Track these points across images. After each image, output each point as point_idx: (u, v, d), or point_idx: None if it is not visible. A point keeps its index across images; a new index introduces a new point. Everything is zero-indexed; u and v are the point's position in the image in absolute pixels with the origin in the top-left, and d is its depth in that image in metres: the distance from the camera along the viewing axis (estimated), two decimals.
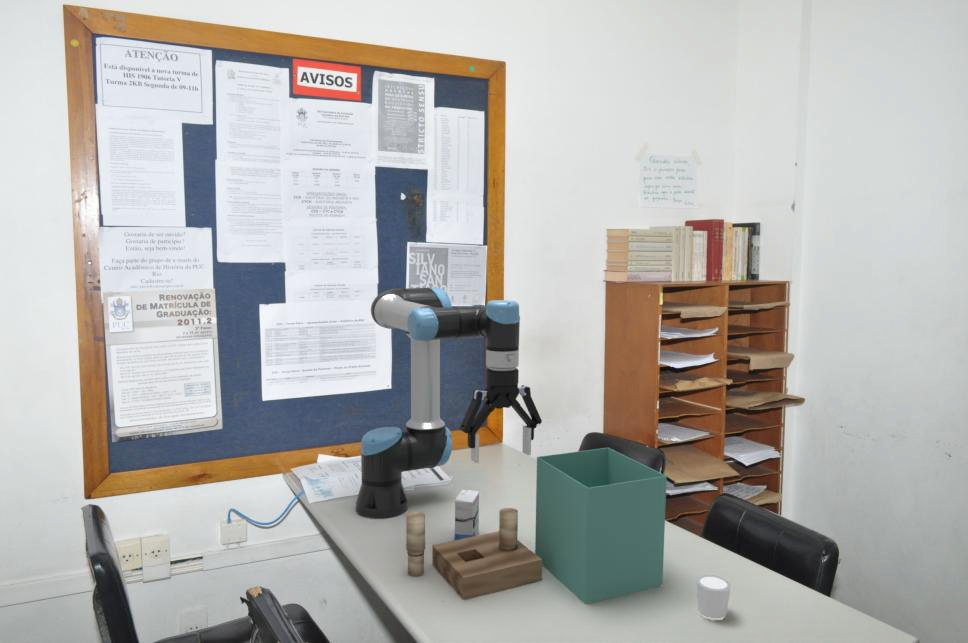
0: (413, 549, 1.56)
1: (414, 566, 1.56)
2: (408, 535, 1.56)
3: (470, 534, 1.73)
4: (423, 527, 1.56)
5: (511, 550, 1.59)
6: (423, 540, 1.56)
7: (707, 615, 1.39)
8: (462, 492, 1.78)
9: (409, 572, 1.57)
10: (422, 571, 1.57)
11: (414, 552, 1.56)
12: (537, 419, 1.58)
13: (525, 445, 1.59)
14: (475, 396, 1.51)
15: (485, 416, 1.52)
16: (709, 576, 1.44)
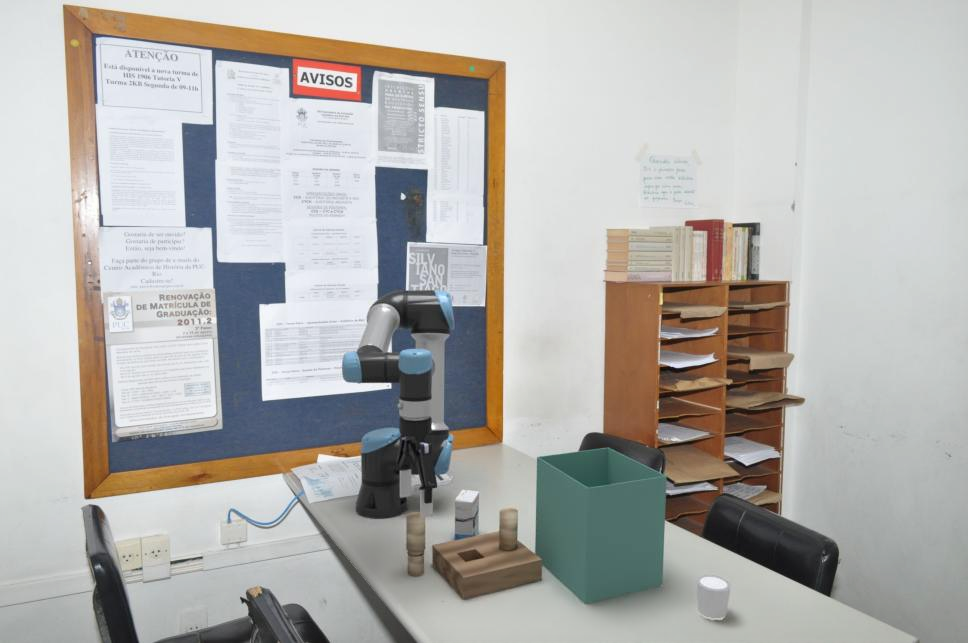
0: (413, 549, 1.56)
1: (414, 566, 1.56)
2: (408, 535, 1.56)
3: (470, 534, 1.73)
4: (423, 527, 1.56)
5: (511, 550, 1.59)
6: (423, 540, 1.56)
7: (707, 615, 1.39)
8: (462, 492, 1.78)
9: (409, 572, 1.57)
10: (422, 571, 1.57)
11: (414, 552, 1.56)
12: (425, 483, 1.47)
13: None
14: None
15: (403, 456, 1.59)
16: (709, 576, 1.44)
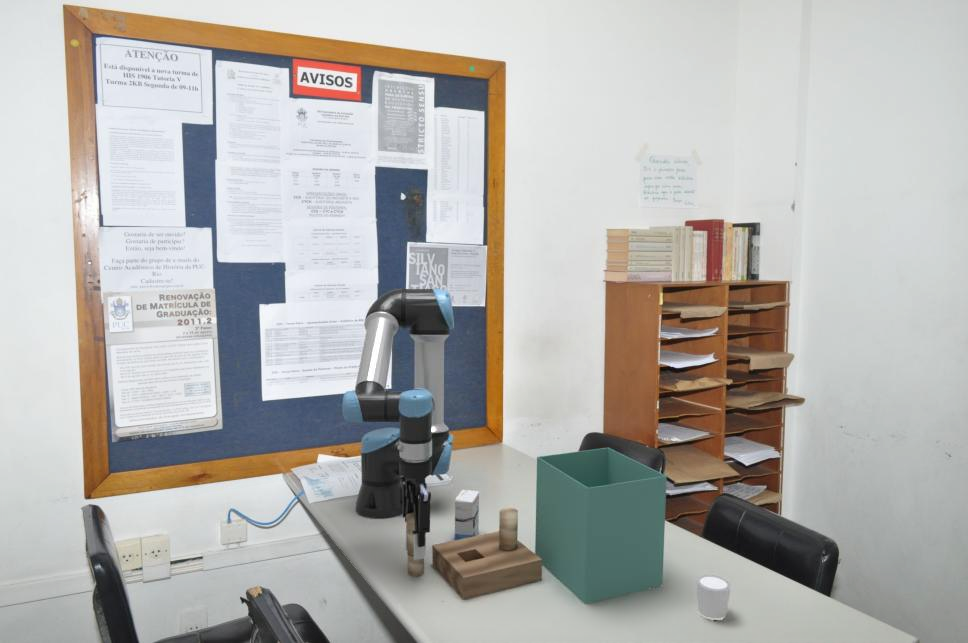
0: (413, 549, 1.56)
1: (414, 566, 1.56)
2: (408, 535, 1.56)
3: (470, 534, 1.73)
4: None
5: (511, 550, 1.59)
6: None
7: (707, 615, 1.39)
8: (462, 492, 1.78)
9: (409, 572, 1.57)
10: (422, 571, 1.57)
11: None
12: (418, 527, 1.52)
13: None
14: None
15: (407, 504, 1.58)
16: (709, 576, 1.44)
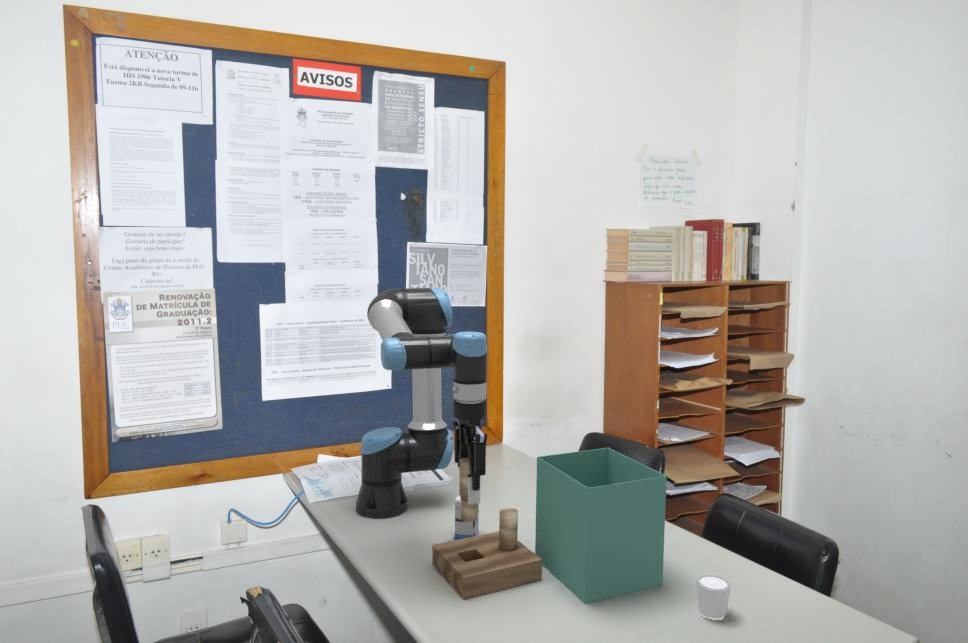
0: (467, 493, 1.52)
1: (468, 511, 1.53)
2: (462, 479, 1.53)
3: (470, 534, 1.73)
4: None
5: (511, 550, 1.59)
6: None
7: (707, 615, 1.39)
8: None
9: (462, 518, 1.54)
10: (476, 517, 1.54)
11: None
12: (474, 470, 1.49)
13: None
14: None
15: (460, 448, 1.55)
16: (709, 576, 1.44)
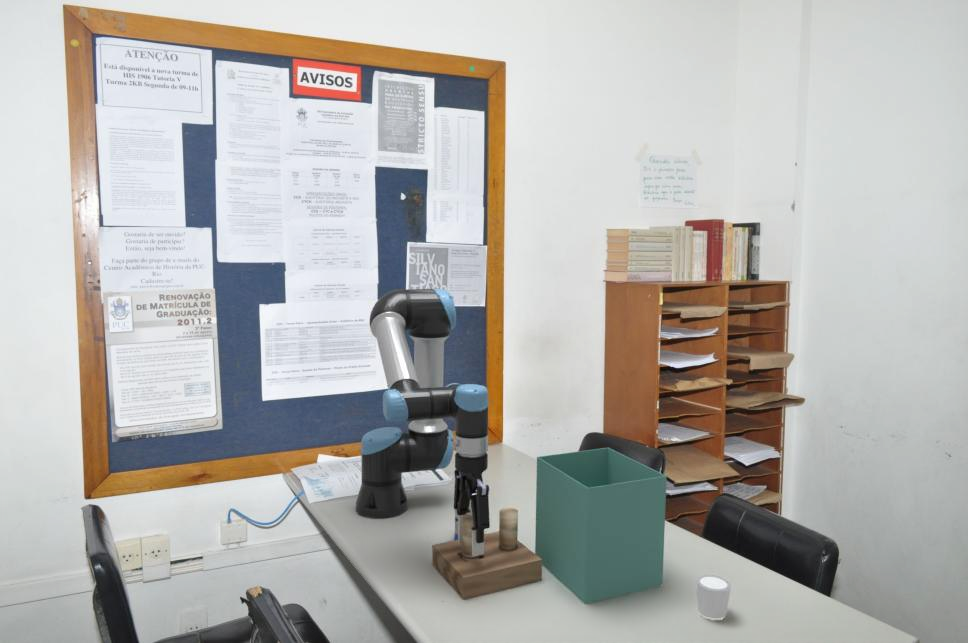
0: (469, 551, 1.54)
1: None
2: (464, 537, 1.54)
3: None
4: None
5: (511, 550, 1.59)
6: None
7: (707, 615, 1.39)
8: None
9: None
10: None
11: (470, 554, 1.54)
12: (478, 523, 1.49)
13: None
14: None
15: (460, 497, 1.57)
16: (709, 576, 1.44)
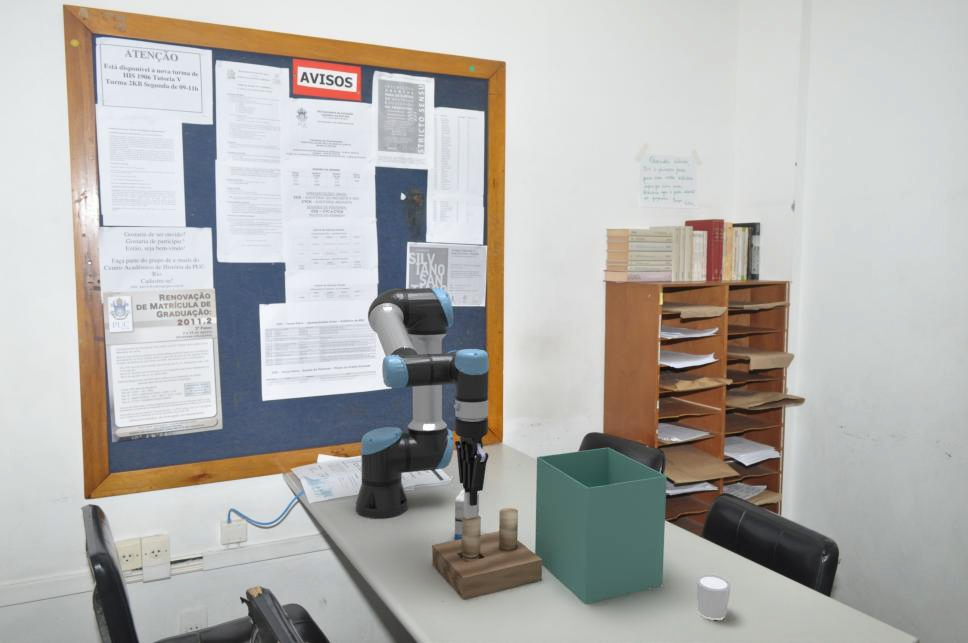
0: (469, 551, 1.54)
1: None
2: (464, 537, 1.54)
3: None
4: (479, 529, 1.55)
5: (511, 550, 1.59)
6: (479, 542, 1.55)
7: (707, 615, 1.39)
8: (462, 492, 1.78)
9: None
10: None
11: (470, 554, 1.54)
12: (472, 485, 1.51)
13: None
14: None
15: (464, 467, 1.55)
16: (709, 576, 1.44)
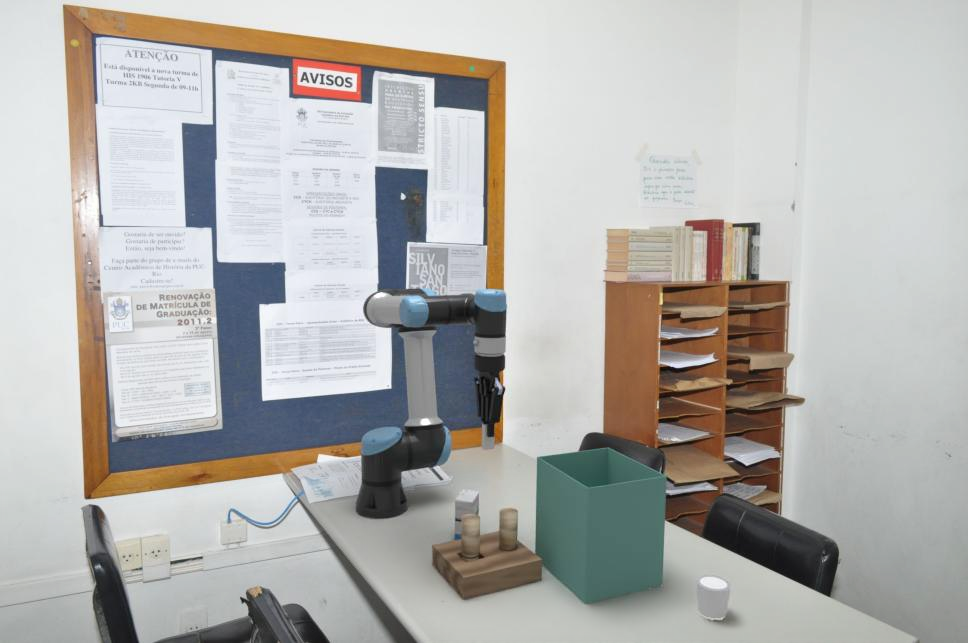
0: (468, 551, 1.54)
1: None
2: (463, 537, 1.54)
3: None
4: (478, 529, 1.55)
5: (511, 550, 1.59)
6: (478, 542, 1.55)
7: (707, 615, 1.39)
8: (462, 492, 1.78)
9: None
10: None
11: (469, 554, 1.54)
12: (489, 417, 1.60)
13: None
14: None
15: (482, 401, 1.63)
16: (709, 576, 1.44)
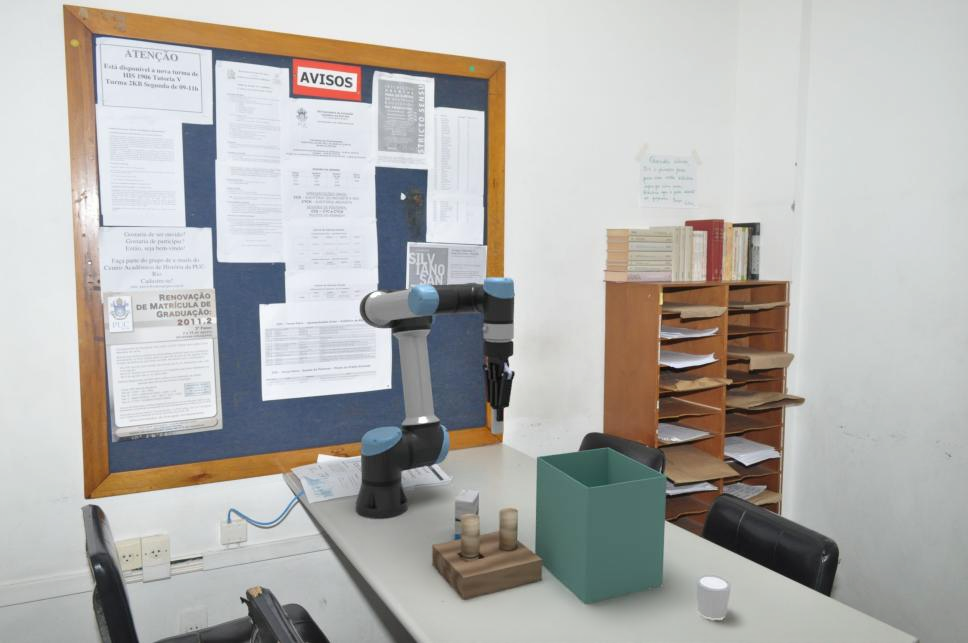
0: (468, 551, 1.54)
1: None
2: (463, 537, 1.55)
3: None
4: (478, 529, 1.55)
5: (511, 550, 1.59)
6: (478, 542, 1.55)
7: (707, 615, 1.39)
8: (462, 492, 1.78)
9: None
10: None
11: (469, 554, 1.54)
12: (499, 402, 1.64)
13: None
14: None
15: (491, 386, 1.67)
16: (709, 576, 1.44)
